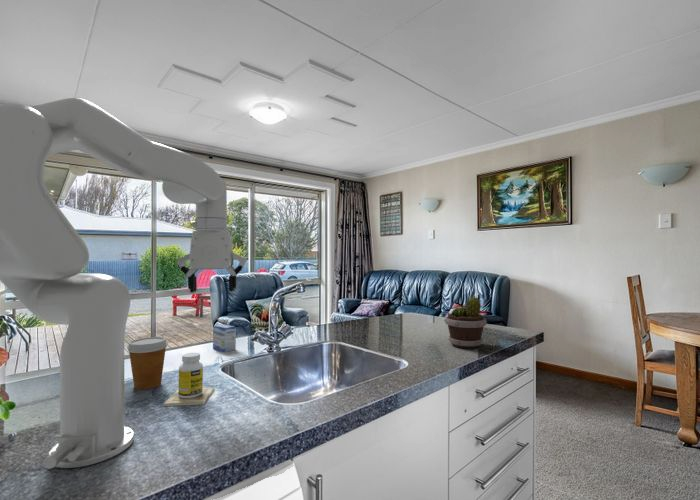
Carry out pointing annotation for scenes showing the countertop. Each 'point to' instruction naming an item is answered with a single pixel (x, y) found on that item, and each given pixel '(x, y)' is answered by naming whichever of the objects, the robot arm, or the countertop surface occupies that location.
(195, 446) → the countertop surface
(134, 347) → the disposable coffee cup
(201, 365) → the supplement bottle
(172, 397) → the coaster
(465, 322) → the flowerpot
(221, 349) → the medicine box
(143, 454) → the countertop surface
